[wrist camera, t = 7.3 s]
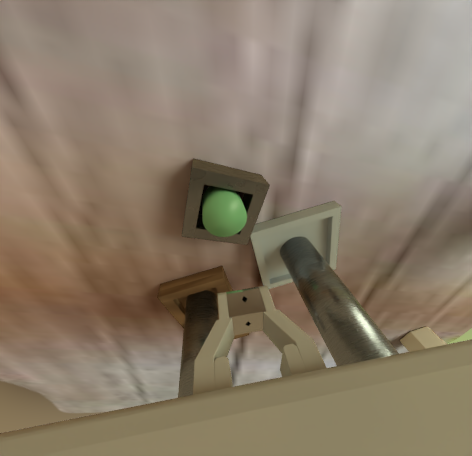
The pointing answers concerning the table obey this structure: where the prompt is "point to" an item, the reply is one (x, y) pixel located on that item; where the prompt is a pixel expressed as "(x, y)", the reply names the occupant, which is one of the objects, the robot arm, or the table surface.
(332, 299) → the cylinder
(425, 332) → the jar
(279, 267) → the square tray
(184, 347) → the cylinder
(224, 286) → the tray
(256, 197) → the switch box
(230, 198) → the button
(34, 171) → the table surface
